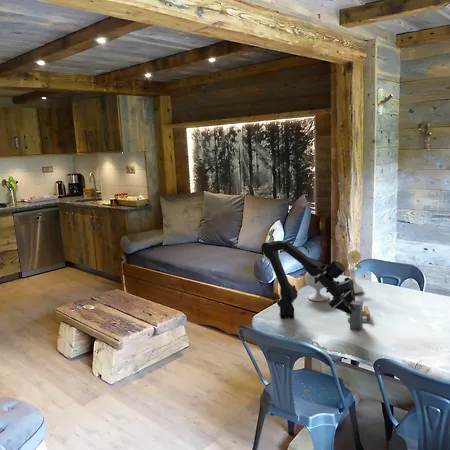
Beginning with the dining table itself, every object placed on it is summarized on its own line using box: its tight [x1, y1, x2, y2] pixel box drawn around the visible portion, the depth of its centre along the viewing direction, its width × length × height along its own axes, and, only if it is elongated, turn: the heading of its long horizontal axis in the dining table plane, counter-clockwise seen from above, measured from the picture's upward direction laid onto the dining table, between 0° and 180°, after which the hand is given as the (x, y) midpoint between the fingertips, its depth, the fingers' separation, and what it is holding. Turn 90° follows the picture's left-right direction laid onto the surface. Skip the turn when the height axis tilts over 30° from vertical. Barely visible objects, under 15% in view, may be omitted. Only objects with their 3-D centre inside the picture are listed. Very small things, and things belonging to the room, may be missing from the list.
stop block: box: [349, 299, 364, 332], centre depth 197 cm, size 4×4×12 cm
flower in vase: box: [346, 249, 364, 295], centre depth 241 cm, size 13×11×25 cm
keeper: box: [345, 305, 371, 323], centre depth 209 cm, size 10×10×4 cm
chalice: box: [304, 271, 330, 302], centre depth 237 cm, size 14×14×15 cm
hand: (354, 310), depth 197 cm, fingers open, 9 cm apart
